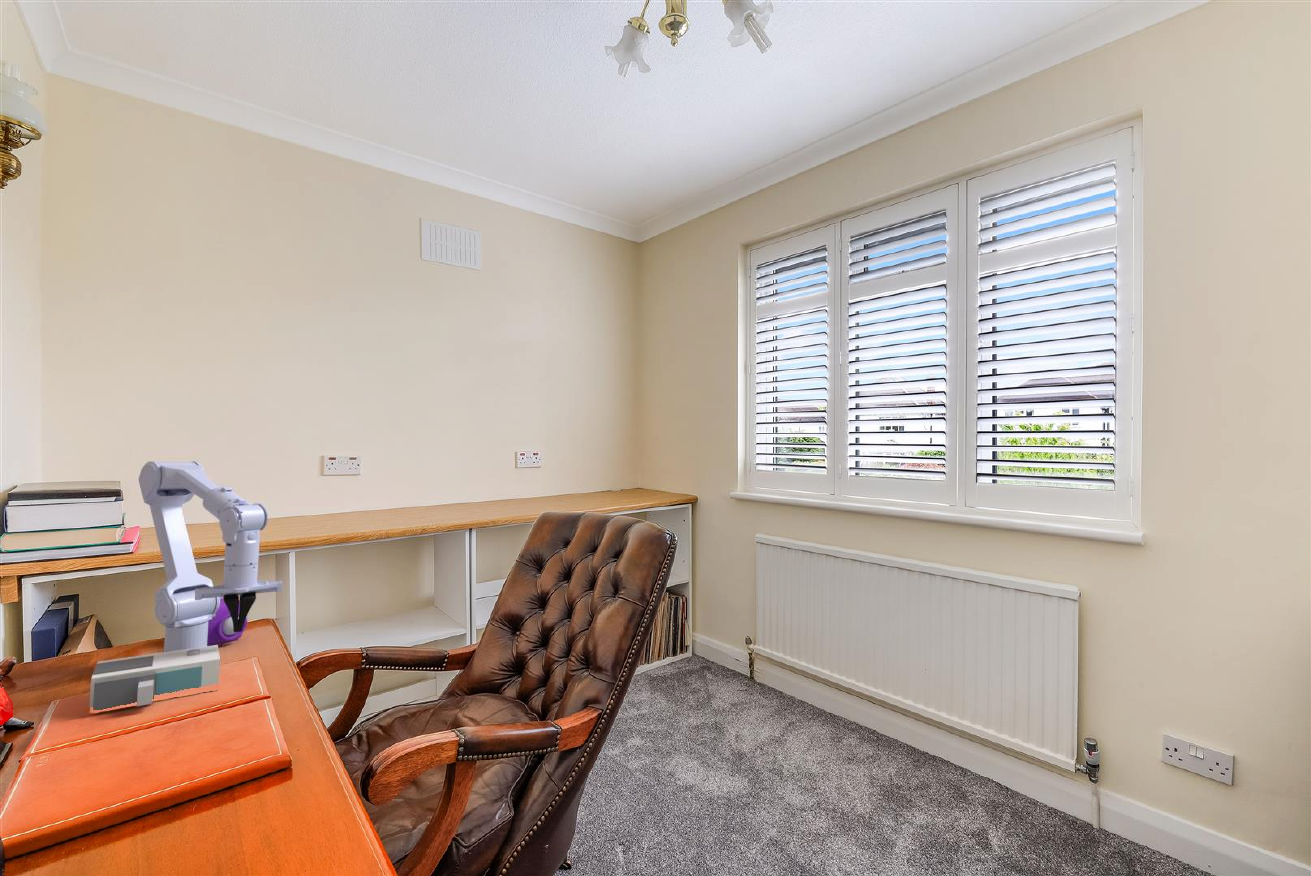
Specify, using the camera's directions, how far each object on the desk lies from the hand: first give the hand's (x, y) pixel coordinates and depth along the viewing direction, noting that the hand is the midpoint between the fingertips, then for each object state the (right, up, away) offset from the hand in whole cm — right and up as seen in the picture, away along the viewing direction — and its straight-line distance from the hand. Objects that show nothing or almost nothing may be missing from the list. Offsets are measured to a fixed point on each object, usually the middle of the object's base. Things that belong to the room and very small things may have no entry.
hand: (237, 630), depth 120 cm
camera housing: (-9, -9, -9) cm, 15 cm away
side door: (-8, -8, -17) cm, 21 cm away
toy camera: (-19, -10, +20) cm, 30 cm away
